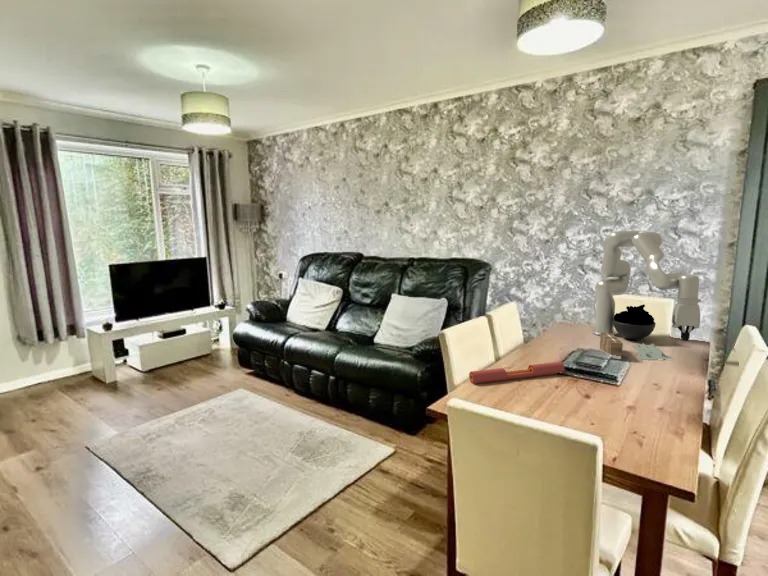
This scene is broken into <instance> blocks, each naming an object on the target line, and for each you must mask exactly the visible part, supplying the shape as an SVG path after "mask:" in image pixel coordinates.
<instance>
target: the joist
mask: <svg viewBox="0 0 768 576" xmlns="http://www.w3.org/2000/svg"><path fill="white" fill-rule="evenodd" d="M599 339H600V342H599V349H600V350H601V351H602V350H603V351H605V352H607V353H609V354H611V355H616V356H622V357H623V347H624V346H623V345H624V343H623V342H622V341H621V340H620V339H619V338H617V336H616V335H615V336H614V335H613V334H612V333H601V336H600V338H599ZM603 351H602V352H603Z"/></svg>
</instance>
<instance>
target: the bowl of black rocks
mask: <svg viewBox="0 0 768 576" xmlns="http://www.w3.org/2000/svg"><path fill="white" fill-rule="evenodd" d="M645 307H646V305H645V303H644V304H641V305H638V306H635V305H634V306H633V305H630V306H629V305H628V306H627V305H626V310H624V311H620V312H619V313H618V312H615V316H614V319H613V325H614V330H615V332H616V333H618V334H619V335H620V336H621V337H623V338H625V339H628V340H631V341H632V340H633V341H638V340H642V339H645V338H647V337H649V335H651V334H652V333H653V331H654V330H655V327H656V325H657V324H656V322H655V317H653V315H652V314H650V312H649V311H647V310H646V309H644V308H645Z"/></svg>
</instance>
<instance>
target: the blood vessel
mask: <svg viewBox="0 0 768 576" xmlns="http://www.w3.org/2000/svg"><path fill="white" fill-rule="evenodd" d="M563 371H564V372H565V365H564V363H563V362H562V361H554V362H547V363H546V362H544V363H536V364H529V365H528V367H527V369H518V370H510V371H506V369H505V368H504V367H500V368H492V369H491V368H490V369H482V370H473V371H470V372H469V375H468V376H469V382H470V383H471V384H474V385H476V384H482V383H483V384H484V383H492V382H499V381H501V380H502V381H508V380H509V379H510V380H517V379H518V378H519V379H526V378H525V377H527V378H533V377H534V376H536V377H541V376H543V375H544V376H551V374H552V375H558V374H557V373H560V372H563ZM564 372H563V373H564ZM510 380H509V381H510Z"/></svg>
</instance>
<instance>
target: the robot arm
mask: <svg viewBox="0 0 768 576" xmlns="http://www.w3.org/2000/svg"><path fill="white" fill-rule="evenodd" d="M603 243H604V244H603V255H602V256H603V257H602V262H601V268H600V272H601V275H602V276H604V277H606V278H605V279H601V280H599V281H597V282H596V284H595V287H594V289H595V295H596V297H595V299H596V303H595V304H596V305H595V326H594V329H592V330H591V334H593V335H595V336H600V337H601V333H612V334H613V335H614V336H615V337H616V336H617V333H618V332H617V331H616V330H615V327H614V325H613V319H614V316H615V314H616V302H615V299H614V297H613V296H620V295H624V294H625V293H626V292H627V291H628V287H629V283H630V277H631V272H632V271H631V270H632V269H631V265H630V263H629V261H627V260H624V259H621V257H622V251H621V249H620V248H627V247H633V248H635V249H636V251H637V252H638V253H639V254H640V256H641V257H642V258H643V260H644V262H646V267H645V269H646V274H647V277H648V278H649V280H650V282H652V284H653V285H654V286H655V287H656V288H658V289H659V290H662V291H663V290H664V291H666V290H678V291H677V303H675V304H674V306H673V311H672V318H671V323H672V326H671V327H672V328H674V329H677V330H678V331H680V338H681V341H684V342H689V340H690V336H691V335H690V334H691V333H692V331H694V330H696V329H700V324H701V310H700V304H699V303H701V302H702V299H701V298H699V287H700V286H699V285H700V278H699V276H697V275H695V274H684V273H680V272H679V273H678V272H673V273H665V272H664V271H663V269H662V268H661V266H660V263H659V262H661V260H663V258H664V257H665V252H664V251H663V250H662V249H661V248H660V247H661V246H662V243H663V238H662V236H661V235H660V234H659V233H658V232H656V231H645V230H642V231H641V230H617V231H614V232H611V233H609V234H608V235H607V236H606V237H605V240H604V242H603Z"/></svg>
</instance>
